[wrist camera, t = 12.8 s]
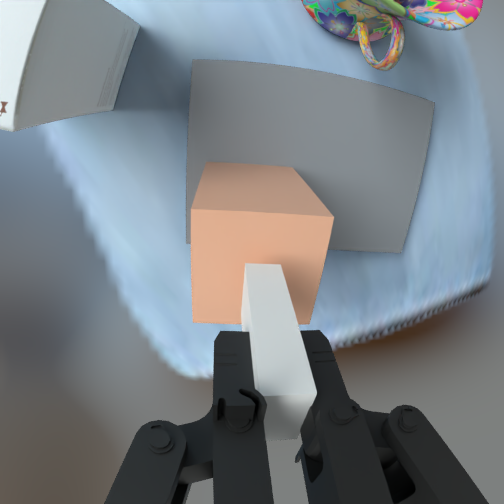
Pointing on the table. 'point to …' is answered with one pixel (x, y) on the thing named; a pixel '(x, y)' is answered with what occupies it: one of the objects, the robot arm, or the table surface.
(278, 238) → the peach tan brick
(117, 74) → the supplement box
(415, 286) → the table surface
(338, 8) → the mug
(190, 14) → the table surface
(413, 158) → the board
